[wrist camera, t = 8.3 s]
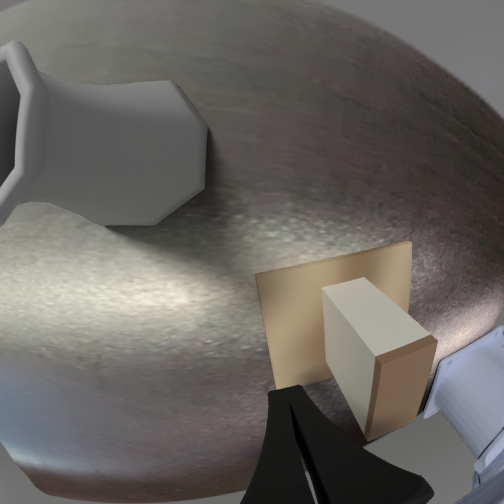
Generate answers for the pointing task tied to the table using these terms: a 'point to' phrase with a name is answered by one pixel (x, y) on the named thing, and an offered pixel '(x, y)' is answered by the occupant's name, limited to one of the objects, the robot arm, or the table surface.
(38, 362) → the table surface
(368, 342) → the cream slab
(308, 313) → the cork mat
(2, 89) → the flask
